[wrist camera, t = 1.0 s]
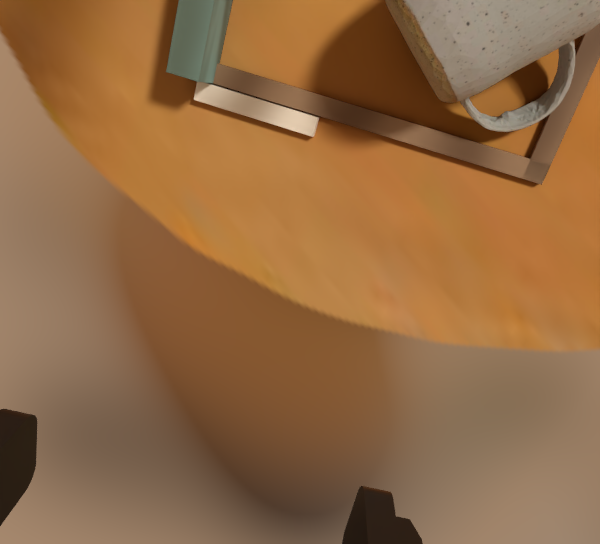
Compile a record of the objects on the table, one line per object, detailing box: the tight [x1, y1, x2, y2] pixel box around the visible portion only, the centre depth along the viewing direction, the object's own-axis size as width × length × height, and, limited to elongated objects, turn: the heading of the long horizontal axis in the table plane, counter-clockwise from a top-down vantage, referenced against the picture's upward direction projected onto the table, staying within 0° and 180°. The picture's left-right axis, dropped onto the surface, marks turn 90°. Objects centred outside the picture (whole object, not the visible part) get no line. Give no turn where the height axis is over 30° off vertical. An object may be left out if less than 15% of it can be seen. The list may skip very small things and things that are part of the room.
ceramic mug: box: [385, 0, 600, 132], centre depth 26 cm, size 11×8×8 cm
